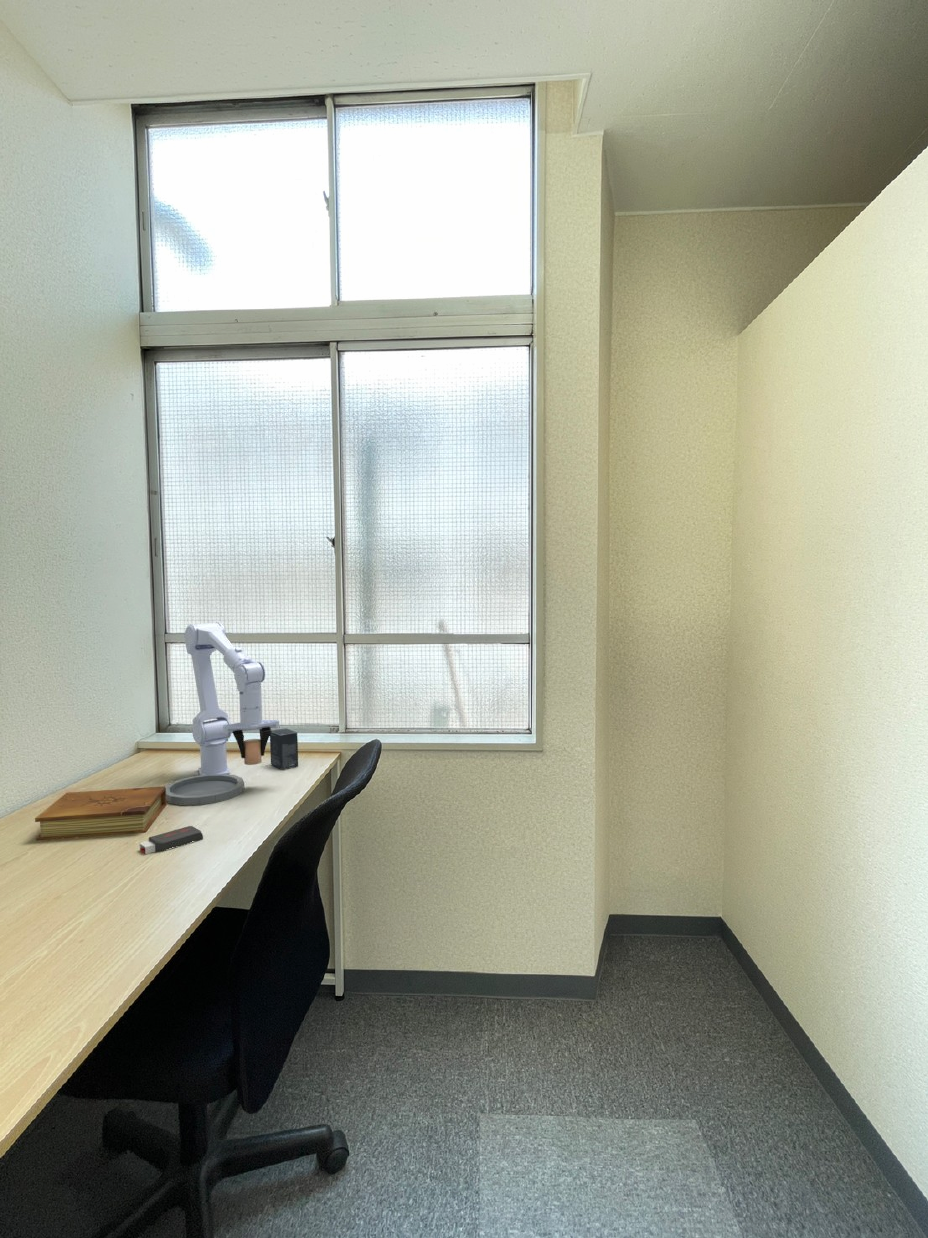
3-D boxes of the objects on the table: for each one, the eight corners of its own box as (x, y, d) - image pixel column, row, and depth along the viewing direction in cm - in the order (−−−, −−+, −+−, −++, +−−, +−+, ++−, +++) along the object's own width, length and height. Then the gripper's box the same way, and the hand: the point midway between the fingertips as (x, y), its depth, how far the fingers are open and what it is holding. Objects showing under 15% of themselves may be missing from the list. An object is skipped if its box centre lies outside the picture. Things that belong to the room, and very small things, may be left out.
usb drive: (203, 840, 153) (202, 828, 153) (147, 857, 144) (147, 845, 144) (193, 834, 156) (192, 823, 156) (138, 850, 148) (137, 838, 148)
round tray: (163, 787, 190) (162, 780, 190) (238, 777, 198) (238, 770, 198) (164, 810, 172) (164, 802, 172) (248, 797, 180) (247, 790, 180)
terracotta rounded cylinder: (243, 761, 189) (242, 740, 189) (260, 759, 191) (259, 738, 191) (245, 765, 185) (244, 743, 185) (262, 763, 187) (262, 741, 187)
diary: (166, 807, 176) (165, 785, 175) (146, 835, 157) (145, 810, 157) (69, 813, 172) (67, 790, 171) (36, 842, 153) (34, 817, 153)
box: (298, 766, 208) (297, 732, 207) (281, 770, 205) (280, 735, 204) (287, 761, 214) (286, 727, 213) (270, 764, 211) (269, 730, 210)
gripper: (224, 712, 180) (226, 763, 181) (280, 707, 187) (282, 756, 188) (221, 707, 187) (223, 756, 188) (276, 702, 193) (277, 750, 194)
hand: (252, 756), depth 188 cm, fingers closed on terracotta rounded cylinder, 4 cm apart
